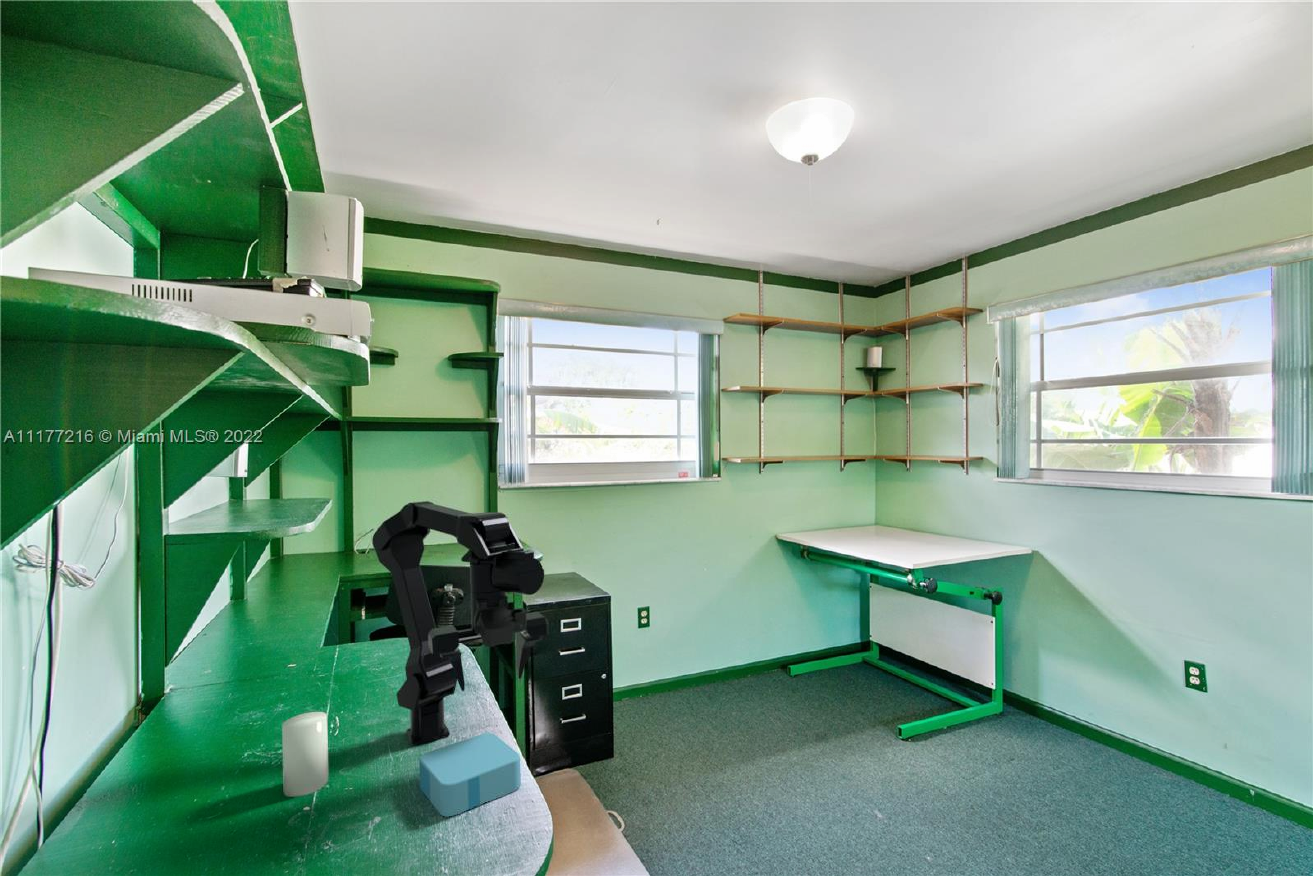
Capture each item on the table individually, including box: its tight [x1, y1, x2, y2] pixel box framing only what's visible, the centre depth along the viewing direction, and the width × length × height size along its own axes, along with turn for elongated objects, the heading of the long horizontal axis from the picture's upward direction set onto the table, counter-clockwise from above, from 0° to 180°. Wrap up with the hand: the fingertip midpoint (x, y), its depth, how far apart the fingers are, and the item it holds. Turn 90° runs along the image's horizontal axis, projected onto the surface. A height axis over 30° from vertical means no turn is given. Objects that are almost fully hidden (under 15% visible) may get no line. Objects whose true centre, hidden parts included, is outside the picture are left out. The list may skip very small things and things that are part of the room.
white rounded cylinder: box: [281, 711, 330, 798], centre depth 92 cm, size 6×6×10 cm
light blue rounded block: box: [418, 732, 522, 818], centre depth 89 cm, size 12×4×12 cm
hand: (491, 684), depth 98 cm, fingers open, 9 cm apart
